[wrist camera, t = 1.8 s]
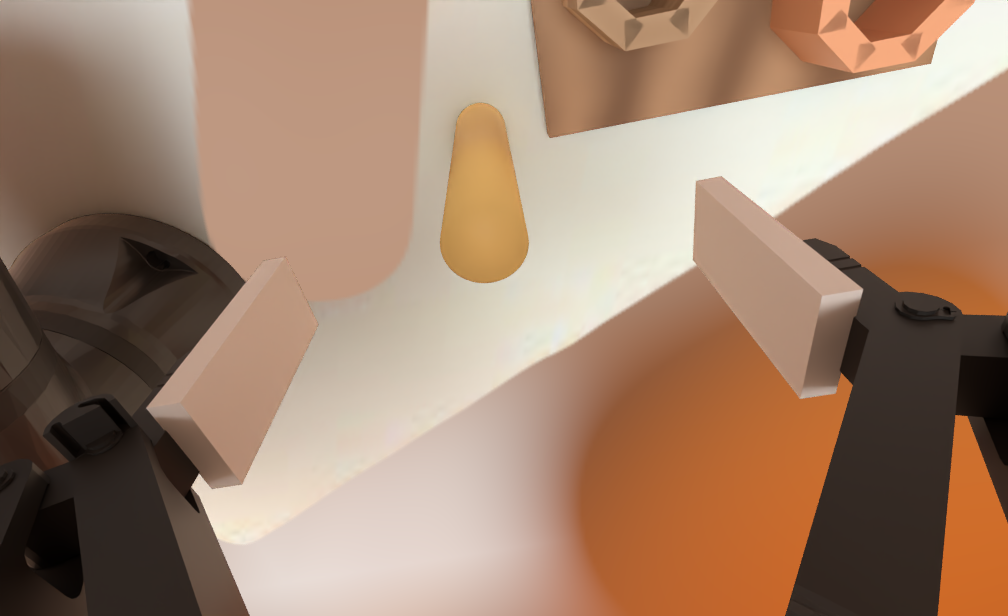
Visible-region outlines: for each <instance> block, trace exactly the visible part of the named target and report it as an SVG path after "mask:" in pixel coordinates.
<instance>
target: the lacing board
mask: <svg viewBox="0 0 1008 616" xmlns="http://www.w3.org/2000/svg"><path fill="white" fill-rule="evenodd" d="M616 1H617V2H618V3H620V4H621V5H622V6H623V7H624V8H625V9H626V10H631V9H636V8H641V7H646V6H648V5H649V4H650V2H651V1H652V0H616ZM874 1H875V0H850V6H849V11H848V17H849V18H850V20H851V21H852V22H853V23H855V22H856V20H857V19H858V18H859V17H860V16H861V15H862V14H863V13H864V12H865V11H866V10H867V9H868V7H869V6H870V5H871V4H872V3H873V2H874ZM531 6H532V14H533V22H534V30H535V38H536V46H537V53H538V61H539V69H540V77H541V85H542V93H543V101H544V109H545V117H546V125H547V133H548V135H549V137H550V138H553V137H558V136H563V135H568V134H574V133H579V132H584V131H589V130H594V129H599V128H604V127H609V126H614V125H619V124H625V123H630V122H635V121H640V120H645V119H650V118H655V117H660V116H665V115H670V114H676V113H681V112H686V111H691V110H696V109H701V108H706V107H711V106H716V105H722V104H727V103H732V102H737V101H742V100H747V99H752V98H757V97H762V96H767V95H773V94H778V93H783V92H788V91H793V90H798V89H803V88H808V87H813V86H819V85H824V84H829V83H834V82H839V81H844V80H849V79H854V78H859V77H864V76H870V75H875V74H880V73H885V72H890V71H895V70H900V69H905V68H910V67H916V66H921V65H926V64H931V61H932V58H933V54H934V50H935V47H936V43H937V40H938V39H937V40H936V41H935V42H934V43H933V44H932V45H931V46H930V47H929V48H928V49H927V50H926V51H925V52H924V53H923V54H922V55H921V56H920V57H919V58H918V59H917V60H916V61H913V62H908V63H903V64H898V65H893V66H888V67H882V68H877V69H872V70H867V71H862V72H857V73H851V72H846V71H842V70H838V69H833V68H829V67H825V66H821V65H816V64H812V63H808V62H803V61H801V60H800V58H799V57H798V56H797V55H796V54H795V53H794V52H793V51H792V50H791V49H790V48H789V47H788V46H787V45H786V44H785V43H784V42H783V41H782V40H781V39H780V38H779V37H778V36H777V35H776V34H775V33H774V32H773V31H772V30H771V28H770V19H771V10H772V0H718V1H717V2H716V3H715V4H714V6H713V7H712V8H711V10H710V11H709V12H708V13H707V15H706V16H705V17H704V18H703V20H702V21H701V22H700V24H699V25H698V26H697V27H696V29H695V30H694V31H693V33H692V34H691V35H690V36H689V38H687V39H682V40H678V41H673V42H668V43H663V44H658V45H653V46H648V47H643V48H638V49H634V50H629V51H624V50H622V49H619V48H617V47H615V46H613V45H610V44H608V43H606V42H604V41H603V40H602V39H600V38H599V37H598V36H597V35H596V34H595V33H593V32H592V31H591V30H590V29H589V28H588V27H586V26H585V25H584V24H583V23H582V22H581V21H579V20H578V19H577V18H576V17H575V16H574V15H572V14H571V13H570V12H569V11H568V10H567V9H565V8H564V7H563V4H562V0H531Z"/></svg>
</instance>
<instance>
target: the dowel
mask: <svg viewBox="0 0 1008 616" xmlns="http://www.w3.org/2000/svg"><path fill="white" fill-rule="evenodd" d="M528 245H529V240H528V233H527V229H526V224H525V219H524V214H523V209H522V204H521V200H520V195H519V190H518V185H517V180H516V176H515V171H514V166H513V161H512V156H511V151H510V147H509V142H508V137H507V132H506V127H505V123H504V119H503V117H502V115H501V114H500V112H499V111H498V110H497V109H496V108H494V107H493V106H491V105H489V104H485V103H475V104H472V105H470V106H468V107H466V108H465V109H464V110H463V111H462V112H461V114H460V115H459V117H458V120H457V124H456V131H455V138H454V145H453V152H452V159H451V166H450V173H449V180H448V187H447V194H446V201H445V208H444V215H443V223H442V230H441V237H440V249H441V253H442V256H443V258H444V260H445V262H446V264H447V265H448V266H449V268H450V269H451V270H452V271H453V272H455V273H456V274H457V275H459V276H460V277H462V278H464V279H466V280H469V281H473V282H478V283H491V282H496V281H500V280H502V279H505V278H507V277H508V276H510V275H511V274H513V273H514V272H515V271H516V270H517V269H518V268H519V267H520V266H521V265H522V263H523V262H524V260H525V258H526V255H527V252H528Z"/></svg>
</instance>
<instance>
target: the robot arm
mask: <svg viewBox="0 0 1008 616" xmlns="http://www.w3.org/2000/svg"><path fill="white" fill-rule="evenodd" d="M693 261H694V262H695V263H696V264H697V266H698V267H699V268H700V270H701V271H702V272H703V273H704V275H705V276H706V277H707V279H708V280H709V281H710V282H711V284H712V285H713V286H714V288H715V289H716V290H717V292H718V293H719V294H720V296H721V297H722V298H723V299H724V301H725V302H726V303H727V305H728V306H729V307H730V308H731V310H732V311H733V312H734V314H735V315H736V316H737V318H738V319H739V320H740V321H741V322H742V324H743V325H744V326H745V328H746V329H747V330H748V332H749V333H750V334H751V336H752V337H753V338H754V339H755V341H756V342H757V343H758V345H759V346H760V347H761V349H762V350H763V351H764V353H765V354H766V355H767V356H768V358H769V359H770V360H771V362H772V363H773V364H774V365H775V367H776V368H777V369H778V371H779V372H780V373H781V375H782V376H783V377H784V378H785V380H786V381H787V382H788V384H789V385H790V386H791V388H792V389H793V390H794V391H795V393H796V394H797V395H798V397H799V398H800V399H802V398H809V397H815V396H821V395H829V394H835V393H836V390H837V386H838V382H839V378H840V375H841V373H842V374H843V375H844V376H845V377H846V378H847V379H848V380H849V381H850V382H851V383H852V385H853V387H852V391H851V394H850V397H849V401H848V404H847V408H846V411H845V414H844V418H843V421H842V425H841V428H840V431H839V435H838V438H837V442H836V445H835V448H834V452H833V455H832V459H831V462H830V465H829V469H828V472H827V476H826V479H825V482H824V486H823V489H822V493H821V496H820V499H819V503H818V507H817V510H816V513H815V516H814V520H813V524H812V527H811V530H810V533H809V537H808V540H807V544H806V547H805V550H804V554H803V557H802V561H801V564H800V568H799V571H798V574H797V578H796V581H795V584H794V588H793V591H792V595H791V598H790V602H789V605H788V608H787V611H786V615H785V616H937V615H938V604H939V592H940V580H941V570H942V559H943V547H944V536H945V525H946V514H947V503H948V492H949V480H950V469H951V457H952V447H953V436H954V423H955V415H962V416H968V419H969V421H970V424H971V427H972V429H973V432H974V435H975V437H976V440H977V442H978V445H979V448H980V450H981V453H982V456H983V458H984V461H985V464H986V466H987V469H988V472H989V474H990V477H991V479H992V482H993V485H994V487H995V490H996V493H997V495H998V498H999V501H1000V503H1001V506H1002V509H1003V511H1004V514H1005V517H1006V519H1007V522H1008V313H1007V315H1006V316H995V315H963V314H962V312H961V310H959V309H958V308H957V307H956V306H955V305H953V304H952V303H950V302H948V301H946V300H944V299H942V298H939V297H936V296H932V295H928V294H924V293H915V292H898V291H896V290H895V289H893V288H892V287H891V286H889V285H888V284H887V283H885V282H884V281H883V280H881V279H880V278H879V277H877V276H876V275H875V274H873V273H872V272H871V271H869V270H868V269H866V268H865V267H861V264H859V263H858V262H857V261H856V260H854V259H850V256H849V255H847V254H846V253H844V252H843V251H842V250H841V249H839V248H838V247H837V246H835V245H832V244H829V243H826V242H824V241H821V240H818V239H816V238H815V239H808V240H803V241H802V240H801V239H800V238H798V237H797V236H796V235H795V234H793V233H792V232H791V231H789V230H788V229H787V228H786V227H784V226H783V225H782V224H781V223H779V222H778V221H777V220H776V219H774V218H773V217H772V216H771V215H769V214H768V213H767V212H766V211H764V210H763V209H762V208H761V207H759V206H758V205H757V204H756V203H754V202H753V201H752V200H751V199H749V198H748V197H747V196H745V195H744V194H743V193H742V192H740V191H739V190H738V189H737V188H735V187H734V186H733V185H732V184H730V183H729V182H728V181H727V180H725V179H724V178H723V177H722V176H721V177H715V178H710V179H704V180H699V181H696V194H695V219H694V245H693ZM317 327H318V323H317V321H316V319H315V317H314V315H313V312H312V310H311V308H310V306H309V304H308V302H307V300H306V298H305V296H304V294H303V292H302V289H301V287H300V285H299V284H298V281H297V279H296V277H295V275H294V273H293V271H292V269H291V267H290V264H289V262H288V261H287V258H286V257H280V258H275V259H269V260H264V261H263V262H262V263H261V264H260V265H259V267H258V268H257V269H256V270H255V272H254V273H253V274H252V275H251V277H250V278H249V279H248V280H247V282H246V283H245V282H244V280H243V279H242V278H241V276H240V275H239V274H238V273H237V272H236V271H235V269H234V268H233V267H232V266H231V265H230V264H229V263H228V262H227V261H226V260H224V259H223V258H222V257H221V256H220V255H219V254H217V253H216V252H215V251H214V250H212V249H211V248H209V247H208V246H207V245H205V244H204V243H202V242H201V241H199V240H197V239H196V238H194V237H192V236H190V235H188V234H187V233H185V232H182V231H180V230H178V229H176V228H174V227H171V226H169V225H166V224H163V223H161V222H157V221H154V220H151V219H147V218H143V217H138V216H132V215H124V214H94V215H88V216H83V217H79V218H76V219H73V220H70V221H68V222H65V223H63V224H61V225H60V226H58V227H56V228H54V229H53V230H51V231H49V232H48V233H46V234H44V235H42V236H41V237H39V238H37V239H36V240H34V241H33V242H32V243H30V244H29V245H28V246H27V247H26V248H25V249H24V250H23V251H22V252H21V253H20V254H19V255H18V257H17V258H16V260H15V261H14V263H13V264H12V266H11V268H10V269H9V271H8V270H7V268H6V266H5V265H4V263H3V261H2V260H1V258H0V616H250V615H249V614H248V611H247V609H246V606H245V604H244V601H243V599H242V597H241V594H240V592H239V590H238V587H237V585H236V582H235V580H234V578H233V575H232V573H231V571H230V568H229V566H228V564H227V561H226V559H225V557H224V554H223V552H222V550H221V547H220V545H219V543H218V540H217V538H216V535H215V533H214V531H213V528H212V526H211V524H210V521H209V519H208V516H207V514H206V512H205V509H204V507H203V505H202V502H201V500H200V498H199V496H198V495H197V493H196V492H195V491H194V490H193V489H192V488H191V486H192V484H193V483H194V481H195V479H196V477H197V476H198V474H200V475H201V476H202V477H203V479H204V480H205V481H206V482H207V484H208V485H209V486H210V487H211V488H212V489H215V488H221V487H228V486H234V485H241V484H242V483H243V481H244V479H245V477H246V475H247V473H248V471H249V469H250V466H251V464H252V462H253V460H254V458H255V456H256V454H257V452H258V450H259V448H260V446H261V444H262V441H263V439H264V437H265V435H266V433H267V431H268V429H269V427H270V425H271V423H272V421H273V419H274V416H275V414H276V412H277V410H278V408H279V406H280V404H281V402H282V400H283V398H284V396H285V394H286V391H287V389H288V387H289V385H290V383H291V381H292V379H293V377H294V375H295V373H296V371H297V368H298V366H299V364H300V362H301V360H302V358H303V356H304V354H305V352H306V350H307V348H308V346H309V343H310V341H311V339H312V337H313V335H314V333H315V331H316V329H317Z"/></svg>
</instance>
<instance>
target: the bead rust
mask: <svg viewBox="0 0 1008 616" xmlns="http://www.w3.org/2000/svg"><path fill="white" fill-rule="evenodd" d="M974 1H975V0H875V1H874V2H873V3H872V4H871V5H870V6H869V7H868V9H867V10H866V11H865V12H864V13H863V14H862V15H861V16H860V17H859V18H858V19H857V20H856V22H855V23H853V22H852V21H851V20H850V18H849V17H848V11H849V6H850V0H772V10H771V19H770V28H771V30H772V31H773V32H774V33H775V34H776V35H777V36H778V37H779V38H780V39H781V40H782V41H783V42H784V43H785V44H786V45H787V46H788V47H789V48H790V49H791V50H792V51H793V52H794V53H795V54H796V55H797V56H798V57H799V58H800V60H801V61H803V62H808V63H812V64H816V65H821V66H825V67H829V68H833V69H838V70H842V71H846V72H851V73H857V72H862V71H867V70H872V69H877V68H882V67H888V66H893V65H898V64H903V63H908V62H913V61H916V60H917V59H918V58H919V57H920V56H921V55H922V54H923V53H924V52H925V51H926V50H927V49H928V48H929V47H930V46H931V45H932V44H933V43H934V42H935V41H936V40H937V39H938V38H939V37H940V36H941V35H942V34H943V33H944V32H945V31H946V30H947V29H948V28H949V27H950V26H951V25H952V24H953V23H954V22H955V21H956V20H957V19H958V18H959V17H960V16H961V15H962V14H963V13H964V12H965V11H966V10H967V9H968V8H969V7H970V6H971V5H972V4H973V3H974Z"/></svg>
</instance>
